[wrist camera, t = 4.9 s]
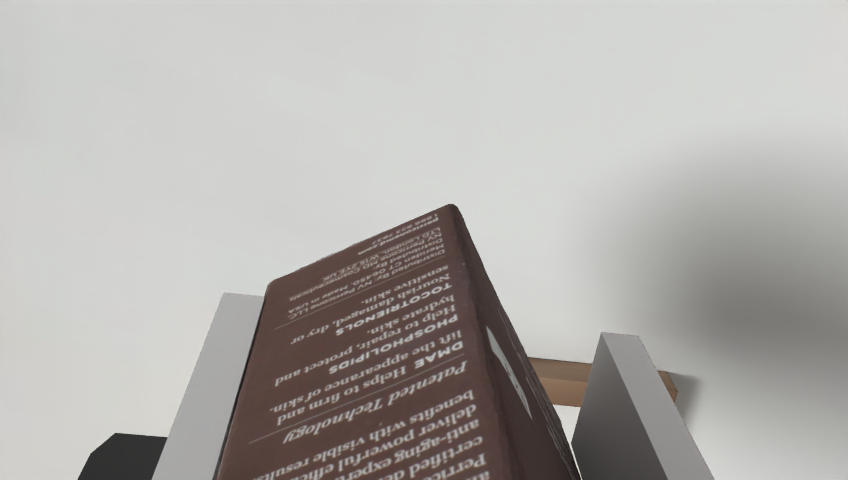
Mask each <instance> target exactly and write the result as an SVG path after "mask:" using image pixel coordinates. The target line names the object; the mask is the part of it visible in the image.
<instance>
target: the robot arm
mask: <svg viewBox="0 0 848 480" xmlns="http://www.w3.org/2000/svg"><path fill="white" fill-rule="evenodd" d="M264 298H265V297H262V296H252V295H243V294H233V293H223V296H222V298H221V301H220V304H219V306H218V309H217V311H216V314H215V316H214V319H213V322H212V324H211V327H210V329H209V332H208V335H207V337H206V340H205V342H204V345H203V348H202V350H201V353H200V355H199V358H198V361H197V363H196V366H195V368H194V371H193V374H192V376H191V379H190V381H189V384H188V386H187V389H186V392H185V394H184V397H183V399H182V402H181V405H180V407H179V410H178V412H177V415H176V418H175V420H174V423H173V425H172V428H171V431H170V433H169V436H168V437H157V436H145V435H134V434H122V433H115V434H114V435H112V436H111V437H110V438H109V439H108V440H106V441H105V442H104V443H103V444H102V445H100V446H99V447H98V448H97V449H96V450H94V451H93V452H92V453H91V454H90V456H89V458H88V460H87V462H86V464H85V466H84V468H83V470H82V472H81V474H80V476H79V478H78V480H215V478H216V475H217V472H218V469H219V465H220V460H221V456H222V453H223V449H224V445H225V441H226V437H227V434H228V430H229V427H230V423H231V420H232V416H233V412H234V408H235V404H236V401H237V398H238V393H239V390H240V388H241V383H242V379H243V375H244V371H245V368H246V365H247V362H248V358H249V354H250V350H251V347H252V343H253V339H254V335H255V332H256V328H257V325H258V321H259V317H260V313H261V310H262V307H263V303H264ZM571 445H572V448H573V451H574V454H575V457H576V461H577V464H578V467H579V470H580V473H581V477H582V480H714V478H713V476H712V474H711V472H710V470H709V468H708V466H707V464H706V462H705V461H704V459H703V457H702V455H701V453H700V451H699V449H698V447H697V445H696V444H695V442H694V440H693V438H692V436H691V434H690V432H689V430H688V428H687V427H686V425H685V423H684V421H683V419H682V417H681V415H680V413H679V411H678V410H677V408H676V406H675V404H674V402H673V400H672V398H671V396H670V394H669V392H668V391H667V389H666V387H665V385H664V383H663V381H662V379H661V377H660V375H659V374H658V372H657V370H656V368H655V366H654V364H653V362H652V360H651V358H650V357H649V355H648V353H647V351H646V349H645V347H644V345H643V343H642V341H641V340H640V338H639V336H633V335H624V334H614V333H605V332H601V335H600V339H599V342H598V346H597V350H596V353H595V357H594V361H593V365H592V368H591V372H590V376H589V379H588V383H587V387H586V390H585V394H584V398H583V401H582V405H581V409H580V412H579V416H578V420H577V424H576V427H575V431H574V435H573V438H572V442H571Z"/></svg>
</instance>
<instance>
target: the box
mask: <svg viewBox="0 0 848 480" xmlns="http://www.w3.org/2000/svg"><path fill="white" fill-rule="evenodd" d="M264 297H265V298H264V303H263V307H262V310H261V313H260V317H259V321H258V325H257V328H256V332H255V335H254V339H253V343H252V347H251V350H250V354H249V358H248V362H247V365H246V368H245V371H244V375H243V379H242V383H241V388H240V390H239V393H238V398H237V401H236V404H235V408H234V412H233V416H232V420H231V423H230V427H229V430H228V434H227V437H226V441H225V445H224V449H223V453H222V456H221V460H220V465H219V469H218V472H217V475H216V478H215V480H581V478H580V475H579V472H578V469H577V467H576V464H575V461H574V458H573V455H572V452H571V450H570V446H569V444H568V441H567V439H566V436H565V433H564V430H563V428H562V424H561V421H560V419H559V417H558V415H557V413H556V411H555V409H554V407H553V405H552V403H551V401H550V399H549V398H548V396H547V394H546V391H545V389H544V387H543V386H542V384H541V382H540V380H539V378H538V376H537V374H536V372H535V370H534V368H533V366H532V364H531V362H530V360H529V359H528V357H527V355H526V353H525V350H524V348H523V346H522V344H521V342H520V340H519V338H518V336H517V334H516V332H515V330H514V328H513V326H512V324H511V322H510V320H509V318H508V316H507V314H506V312H505V310H504V309H503V307H502V305H501V303H500V301H499V298H498V296H497V294H496V292H495V290H494V287H493V285H492V283H491V281H490V279H489V277H488V275H487V273H486V271H485V268H484V266H483V263H482V261H481V258H480V256H479V254H478V252H477V250H476V248H475V245H474V243H473V241H472V239H471V236H470V234H469V231H468V229H467V227H466V225H465V222H464V219H463V217H462V215H461V213H460V211H459V209H458V207H457V206H455V205H454V204H448V205H445V206H443V207H441V208H438V209H436V210H434V211H431V212H429V213H427V214H424V215H422V216H420V217H417V218H415V219H413V220H410V221H408V222H406V223H403V224H401V225H399V226H397V227H395V228H392V229H390V230H387V231H385V232H382V233H380V234H378V235H375V236H373V237H371V238H368V239H366V240H363V241H361V242H358V243H356V244H353V245H351V246H350V247H348V248H346V249H344V250H342V251H339V252H337V253H334V254H331V255H329V256H327V257H324V258H322V259H320V260H318V261H316V262H315V263H312V264H310V265H308V266H305V267H302V268H300V269H298V270H296V271H295V272H293V273H290V274H288V275H285V276H283V277H280V278H278V279H275V280H273V281H272V282H270V283H269V284H268V286H267V289H266V292H265V296H264Z"/></svg>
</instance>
